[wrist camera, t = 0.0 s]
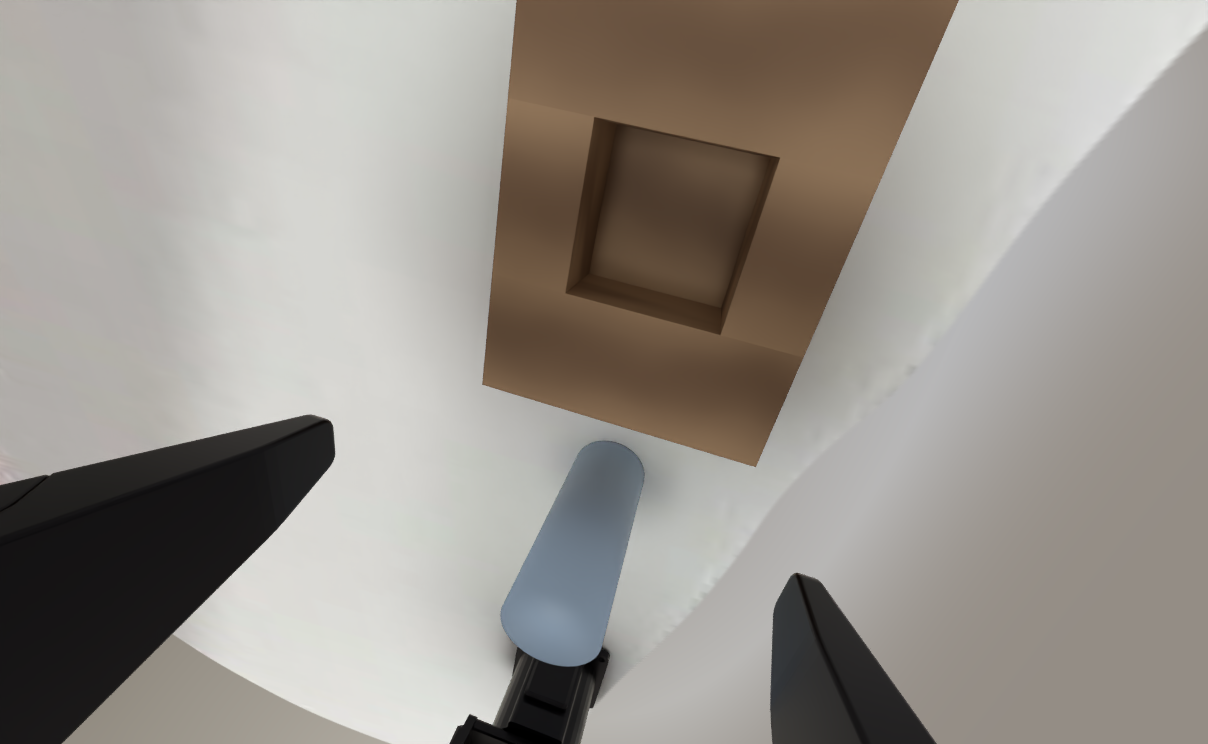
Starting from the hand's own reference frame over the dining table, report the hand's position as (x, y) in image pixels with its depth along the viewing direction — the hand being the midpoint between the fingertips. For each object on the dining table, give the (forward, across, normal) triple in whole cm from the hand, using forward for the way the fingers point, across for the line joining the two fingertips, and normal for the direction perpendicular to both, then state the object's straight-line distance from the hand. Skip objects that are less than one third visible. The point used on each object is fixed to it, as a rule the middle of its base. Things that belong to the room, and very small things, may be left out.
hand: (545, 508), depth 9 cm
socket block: (+15, 0, -4) cm, 15 cm away
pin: (+15, 0, +10) cm, 18 cm away
